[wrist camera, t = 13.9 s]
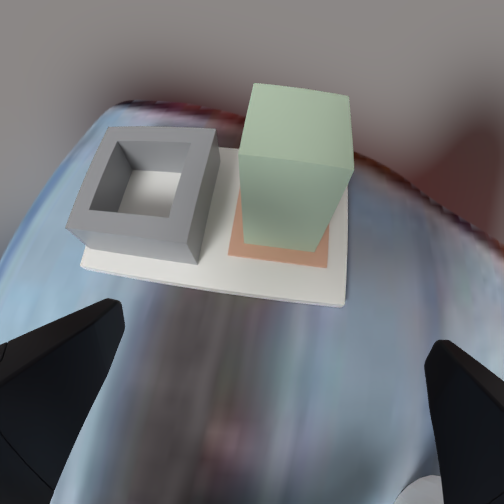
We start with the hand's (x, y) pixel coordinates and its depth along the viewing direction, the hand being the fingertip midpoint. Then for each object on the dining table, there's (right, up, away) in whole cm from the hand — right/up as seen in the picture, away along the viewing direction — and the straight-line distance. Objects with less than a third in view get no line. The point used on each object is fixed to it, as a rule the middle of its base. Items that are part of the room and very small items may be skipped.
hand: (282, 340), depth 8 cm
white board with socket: (-4, +5, +16) cm, 18 cm away
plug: (+1, +5, +15) cm, 16 cm away
